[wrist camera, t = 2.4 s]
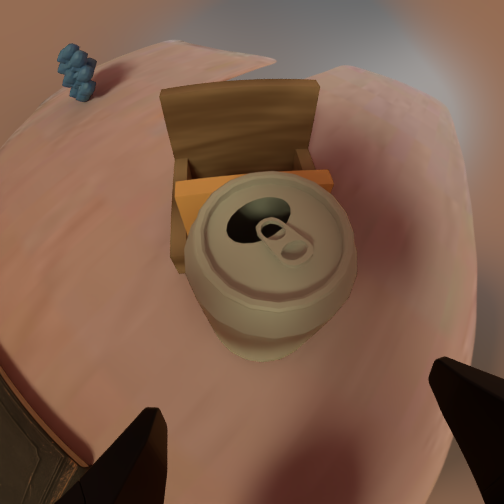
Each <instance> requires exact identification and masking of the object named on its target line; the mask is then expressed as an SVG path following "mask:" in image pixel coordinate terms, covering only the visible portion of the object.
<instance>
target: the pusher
mask: <svg viewBox="0 0 504 504" xmlns="http://www.w3.org/2000/svg"><path fill="white" fill-rule="evenodd" d="M281 172H284V173H291V174H296V175H298V176H301V177H303V178H306V179H308V180H311V181H313V182H315V183H317V184H318V185H319V186H321V187H322V188H324V189H325V190H326V191H328V192H329V193H331V190H332V188H333V185H334V183H333V180H332V178H331V175H330V172H329V170H300V171H281ZM243 175H246V174H240V175H229V176H219V177H209V178H201V179H192V180H184V181H177V182H175V200H176V203H177V206H178V209H179V212H180V215H181V218H182V221H183V224H184V226H185V229H186V232H187V235H188V234H189V231H190V228H191V225H192V224H193V223H194V221H195V220H196V218H197V216H198V212H199V210H200V208H201V207H202V206H203V204H204V203H205V202H206V200H207V199H208V198H209V196H210V195H211V194H212V193H213V192H214V191H216V190H217V189H218V188H220V187H221V186H223V185H224V184H225V183H227V182H228V181H230V180H232V179H235V178H238V177H240V176H243Z"/></svg>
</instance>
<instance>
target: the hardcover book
mask: <svg viewBox="0 0 504 504" xmlns="http://www.w3.org/2000/svg"><path fill="white" fill-rule="evenodd" d="M91 466H92V465H90V466H89V465H87V464H86V463H85V462H84V461H83V460H82V459H81V458H79V457H78V456H77V455H76V454H75V453H74V452H73V451H72V450H71V449H70V448H69V447H68V446H67V445H66V444H65V443H64V442H63V441H62V440H61V439H60V438H59V437H58V436H57V435H56V434H55V433H54V432H53V431H52V430H51V429H50V428H49V427H48V426H47V425H46V424H45V423H44V421H43V420H42V419H41V418H40V417H39V416H38V415H37V413H36V412H35V411H34V410H33V409H32V408H31V406H30V405H29V404H28V403H27V401H26V400H25V399H24V398H23V396H22V395H21V394H20V392H19V391H18V390H17V388H16V387H15V386H14V384H13V383H12V382H11V380H10V379H9V377H8V376H7V375H6V373H5V372H4V370H3V369H2V367H1V366H0V504H53V503H55V502H56V501H57V500H58V499H59V498H61V497H62V496H63V495H64V494H65V493H66V492H67V491H68V490H69V489H70V488H71V487H72V486H73V485H74V484H75V483H76V482H77V481H78V480H79V481H80V478H81V477H82V476H83V475H84V474H85V472H86V471H87V470H88V469H89V468H90V467H91Z"/></svg>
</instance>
